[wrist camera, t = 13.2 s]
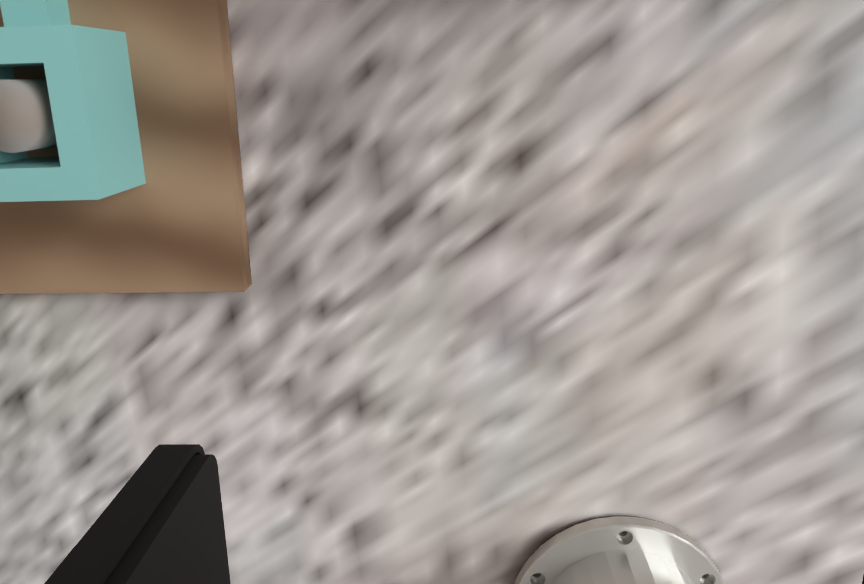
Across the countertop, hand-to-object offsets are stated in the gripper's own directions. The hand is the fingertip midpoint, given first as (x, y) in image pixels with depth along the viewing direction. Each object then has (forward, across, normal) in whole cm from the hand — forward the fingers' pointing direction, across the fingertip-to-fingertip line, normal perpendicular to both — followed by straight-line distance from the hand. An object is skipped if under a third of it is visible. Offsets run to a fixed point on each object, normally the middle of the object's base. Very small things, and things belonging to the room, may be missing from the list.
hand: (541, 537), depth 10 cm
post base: (+28, +20, -5) cm, 35 cm away
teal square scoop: (+27, +20, -8) cm, 34 cm away
